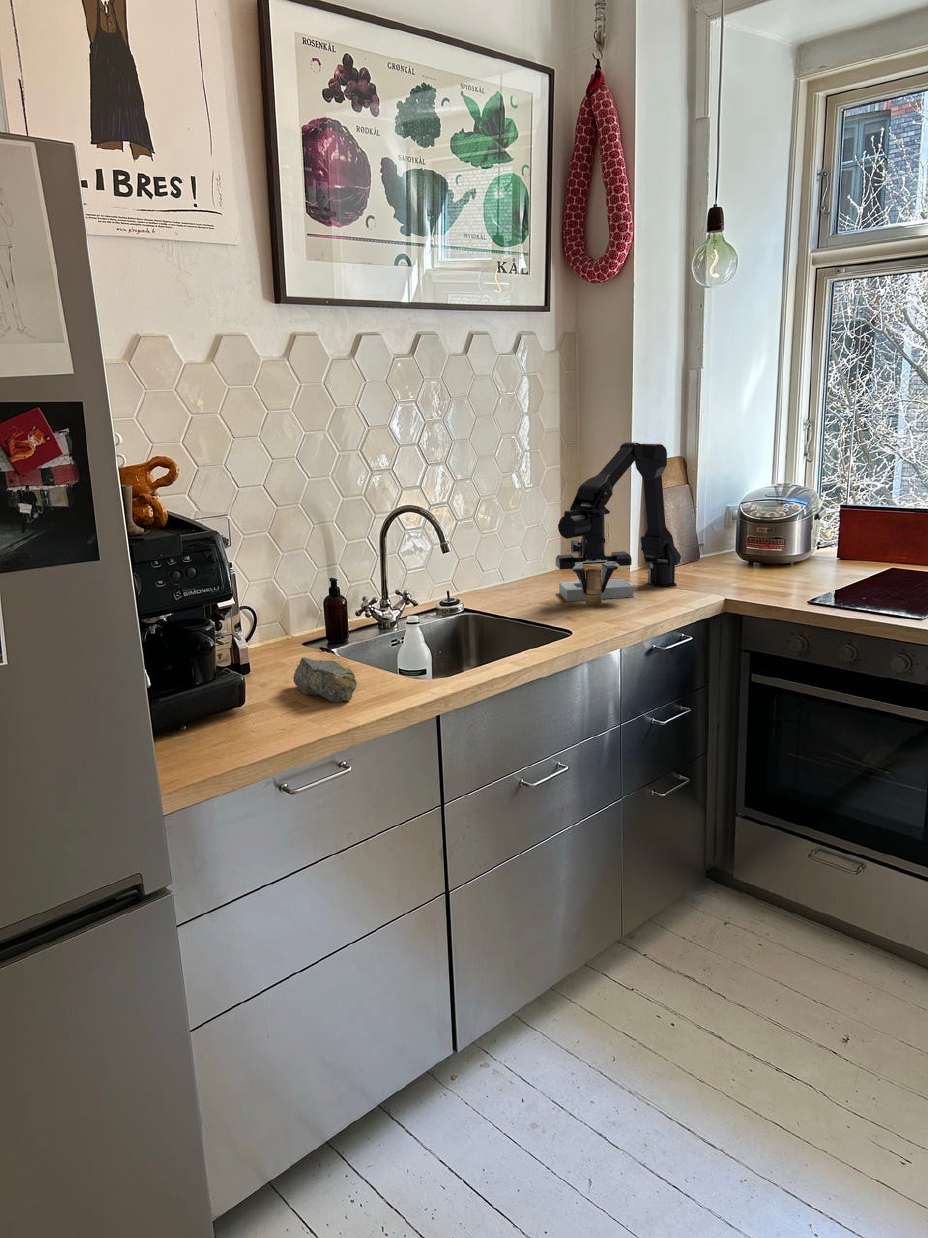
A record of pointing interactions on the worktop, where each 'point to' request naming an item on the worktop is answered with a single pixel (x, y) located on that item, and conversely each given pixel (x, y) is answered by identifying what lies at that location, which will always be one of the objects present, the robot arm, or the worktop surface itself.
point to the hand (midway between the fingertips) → (593, 592)
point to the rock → (325, 680)
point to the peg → (593, 587)
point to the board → (612, 590)
